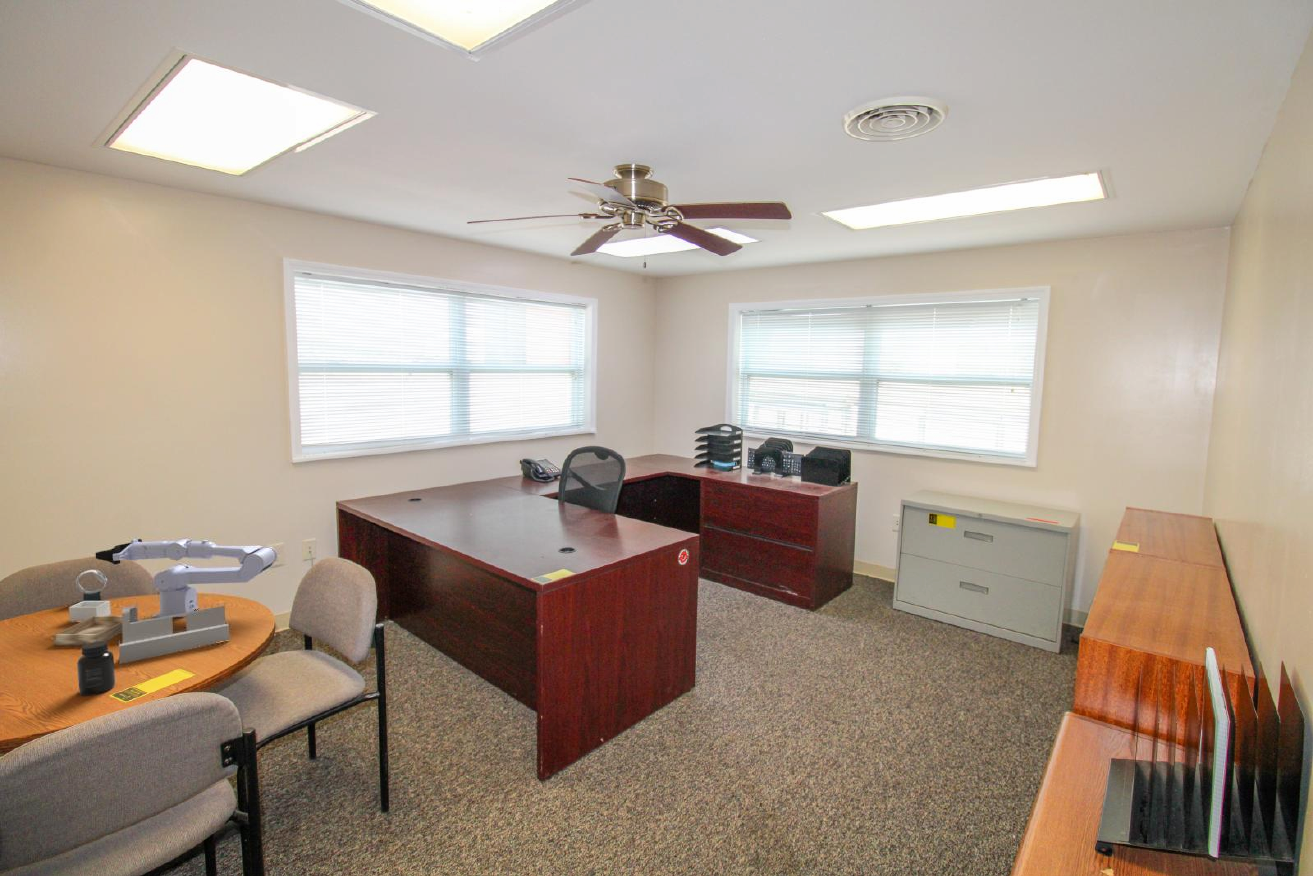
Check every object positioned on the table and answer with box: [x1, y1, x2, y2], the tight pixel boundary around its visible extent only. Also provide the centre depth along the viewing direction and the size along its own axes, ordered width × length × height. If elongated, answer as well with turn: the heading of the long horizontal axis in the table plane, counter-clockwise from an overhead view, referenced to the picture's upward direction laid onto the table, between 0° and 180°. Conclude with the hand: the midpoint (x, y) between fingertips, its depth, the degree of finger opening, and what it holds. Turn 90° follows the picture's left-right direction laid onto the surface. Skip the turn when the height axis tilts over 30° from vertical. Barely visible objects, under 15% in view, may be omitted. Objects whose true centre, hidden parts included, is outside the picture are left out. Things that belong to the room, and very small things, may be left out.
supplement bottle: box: [76, 641, 116, 696], centre depth 152 cm, size 7×7×12 cm
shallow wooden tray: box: [53, 615, 123, 646], centre depth 182 cm, size 12×14×3 cm
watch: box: [75, 569, 108, 601], centre depth 206 cm, size 6×8×11 cm
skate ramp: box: [118, 601, 230, 664], centre depth 182 cm, size 25×23×10 cm
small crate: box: [68, 600, 112, 622], centre depth 193 cm, size 8×5×5 cm
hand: (106, 552), depth 196 cm, fingers open, 7 cm apart
